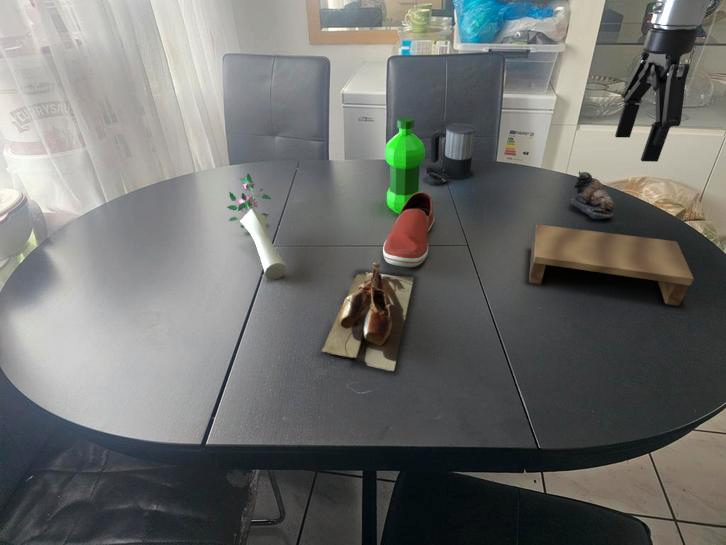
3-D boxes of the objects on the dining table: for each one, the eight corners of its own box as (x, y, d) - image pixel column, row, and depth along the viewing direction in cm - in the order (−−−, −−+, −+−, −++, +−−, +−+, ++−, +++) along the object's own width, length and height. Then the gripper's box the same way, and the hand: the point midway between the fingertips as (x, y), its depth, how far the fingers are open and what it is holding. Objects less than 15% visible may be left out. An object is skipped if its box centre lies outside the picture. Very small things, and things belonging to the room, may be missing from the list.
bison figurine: (616, 219, 116) (628, 183, 110) (597, 226, 114) (608, 189, 108) (579, 202, 125) (589, 167, 119) (561, 207, 122) (569, 173, 117)
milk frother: (472, 168, 147) (477, 123, 138) (470, 188, 134) (475, 140, 126) (428, 166, 150) (431, 121, 141) (423, 185, 137) (425, 138, 129)
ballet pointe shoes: (314, 335, 75) (351, 247, 97) (318, 363, 78) (354, 272, 101) (395, 343, 72) (414, 251, 94) (395, 371, 76) (414, 276, 98)
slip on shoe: (372, 273, 100) (371, 239, 94) (402, 214, 122) (403, 184, 117) (419, 281, 97) (421, 246, 92) (441, 219, 119) (444, 188, 114)
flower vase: (265, 304, 104) (230, 214, 125) (312, 280, 105) (269, 194, 126) (243, 275, 94) (209, 183, 115) (295, 249, 95) (252, 162, 117)
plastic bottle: (417, 221, 119) (421, 126, 104) (380, 215, 122) (378, 123, 108) (426, 205, 126) (431, 115, 112) (391, 200, 130) (391, 112, 115)
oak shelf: (665, 268, 98) (677, 241, 94) (679, 307, 87) (693, 278, 83) (530, 250, 105) (536, 224, 101) (528, 284, 95) (535, 256, 91)
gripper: (624, 18, 87) (595, 128, 99) (686, 37, 66) (639, 172, 79) (665, 17, 86) (630, 128, 98) (740, 36, 66) (685, 172, 78)
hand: (634, 148), depth 88 cm, fingers open, 13 cm apart
